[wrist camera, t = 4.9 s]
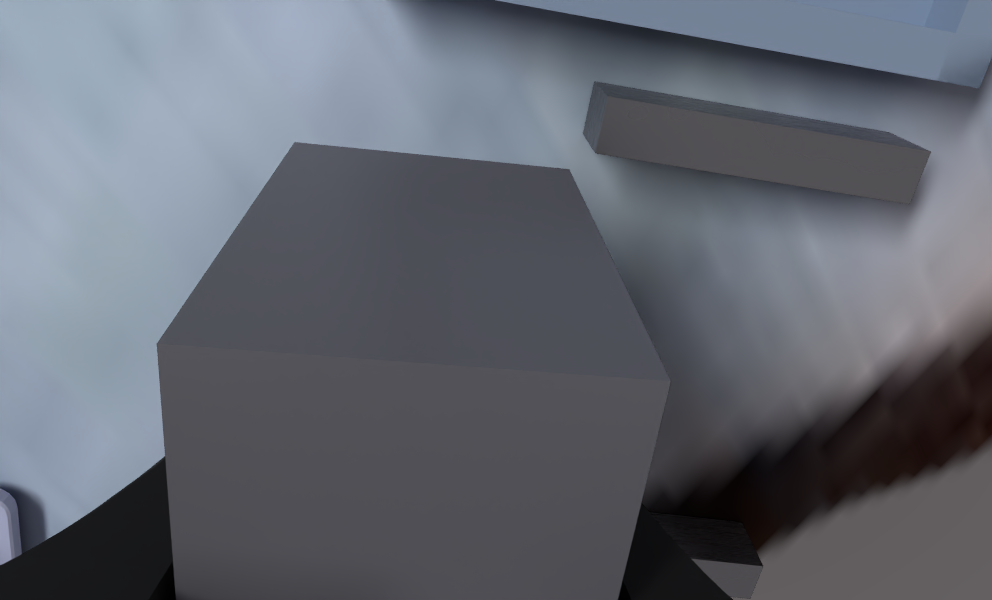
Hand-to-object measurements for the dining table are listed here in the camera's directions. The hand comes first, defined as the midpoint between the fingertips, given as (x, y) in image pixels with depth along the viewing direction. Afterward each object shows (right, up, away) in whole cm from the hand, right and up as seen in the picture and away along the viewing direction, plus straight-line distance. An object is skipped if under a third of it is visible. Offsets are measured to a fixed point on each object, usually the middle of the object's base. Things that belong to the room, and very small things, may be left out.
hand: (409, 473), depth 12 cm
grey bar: (0, +1, +1) cm, 2 cm away
